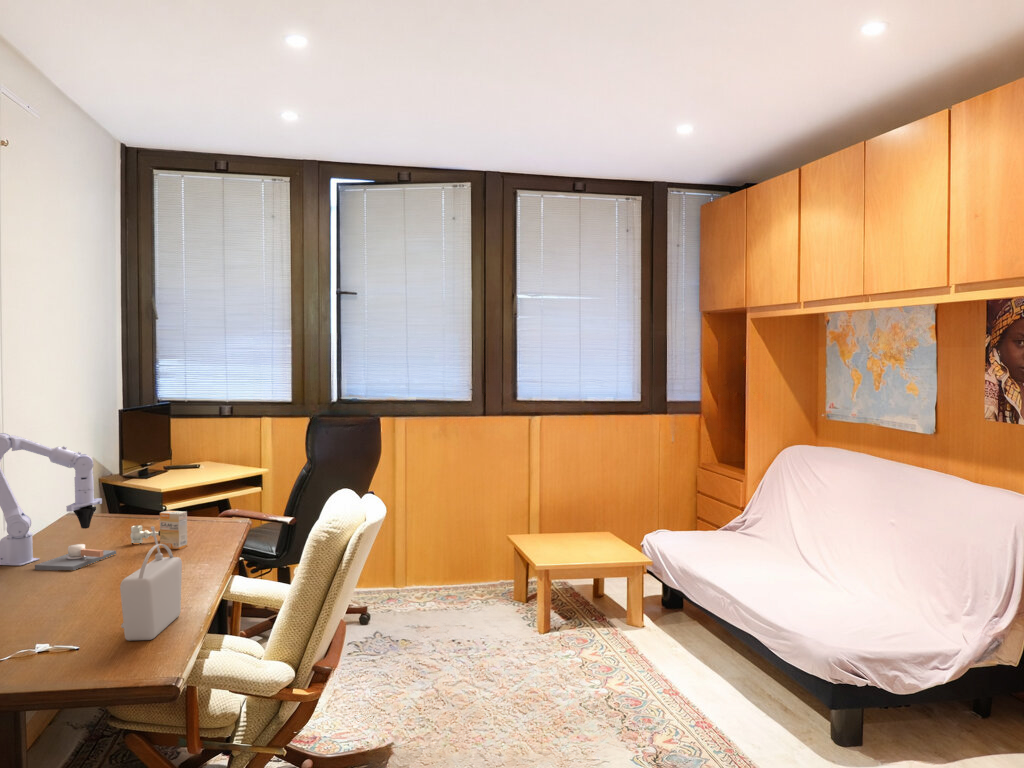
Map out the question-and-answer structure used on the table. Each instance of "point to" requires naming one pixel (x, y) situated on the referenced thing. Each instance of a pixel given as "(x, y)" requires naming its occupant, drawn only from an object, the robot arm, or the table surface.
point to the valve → (140, 534)
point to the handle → (83, 551)
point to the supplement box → (173, 529)
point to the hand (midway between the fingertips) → (85, 528)
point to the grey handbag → (151, 595)
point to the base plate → (71, 562)
